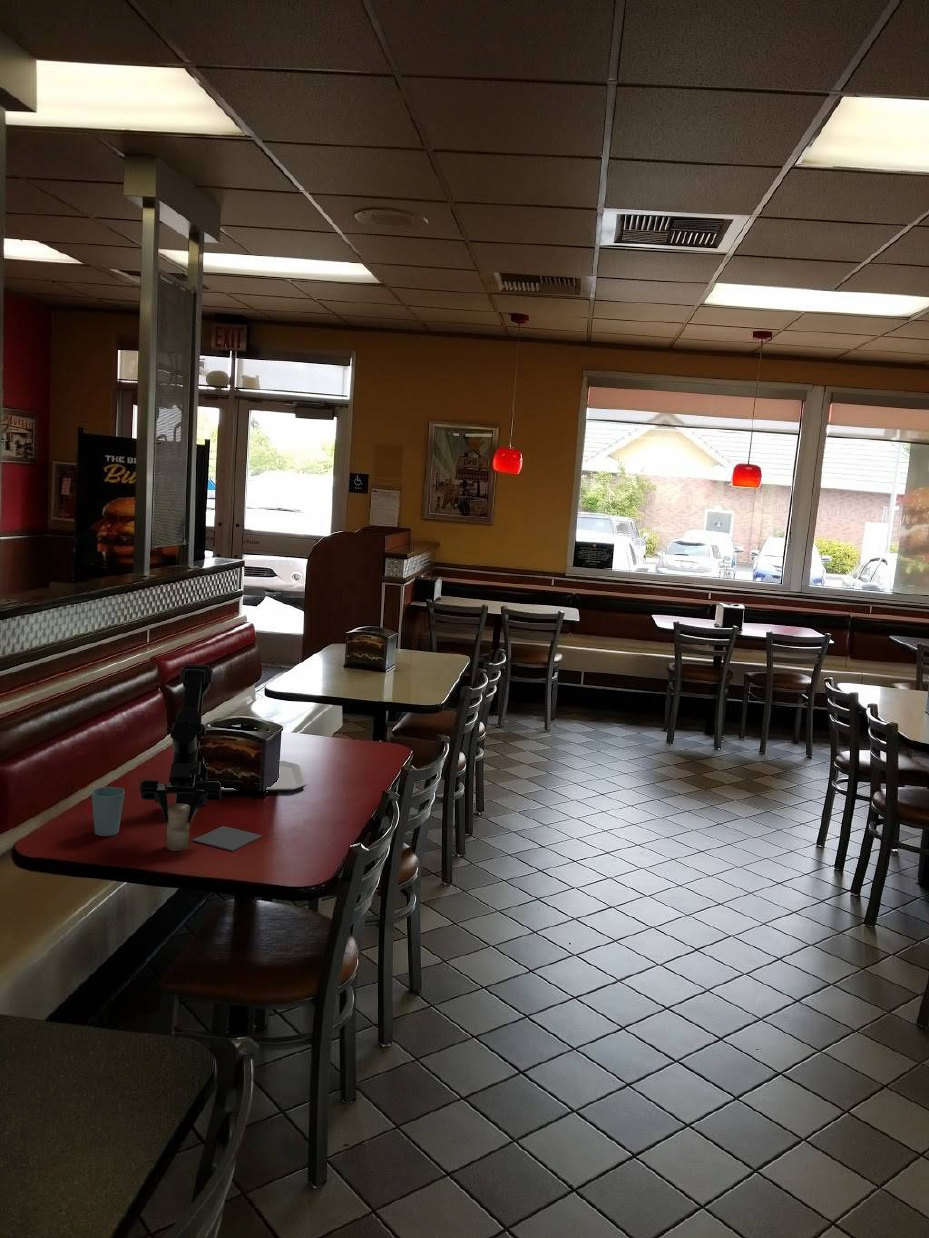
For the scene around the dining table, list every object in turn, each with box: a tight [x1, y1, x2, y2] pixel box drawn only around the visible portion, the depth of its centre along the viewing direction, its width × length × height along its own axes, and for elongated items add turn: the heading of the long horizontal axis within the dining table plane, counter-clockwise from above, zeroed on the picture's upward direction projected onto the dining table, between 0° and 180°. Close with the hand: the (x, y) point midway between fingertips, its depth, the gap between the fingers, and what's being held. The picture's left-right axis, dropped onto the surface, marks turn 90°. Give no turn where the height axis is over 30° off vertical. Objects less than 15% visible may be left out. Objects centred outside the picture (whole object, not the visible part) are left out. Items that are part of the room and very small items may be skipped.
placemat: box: [192, 825, 263, 853], centre depth 236 cm, size 12×12×1 cm
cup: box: [90, 786, 126, 837], centre depth 234 cm, size 8×8×10 cm
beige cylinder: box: [165, 803, 190, 852], centre depth 228 cm, size 5×5×10 cm
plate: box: [221, 760, 307, 793], centre depth 285 cm, size 29×29×2 cm
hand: (177, 822), depth 226 cm, fingers closed on beige cylinder, 5 cm apart
